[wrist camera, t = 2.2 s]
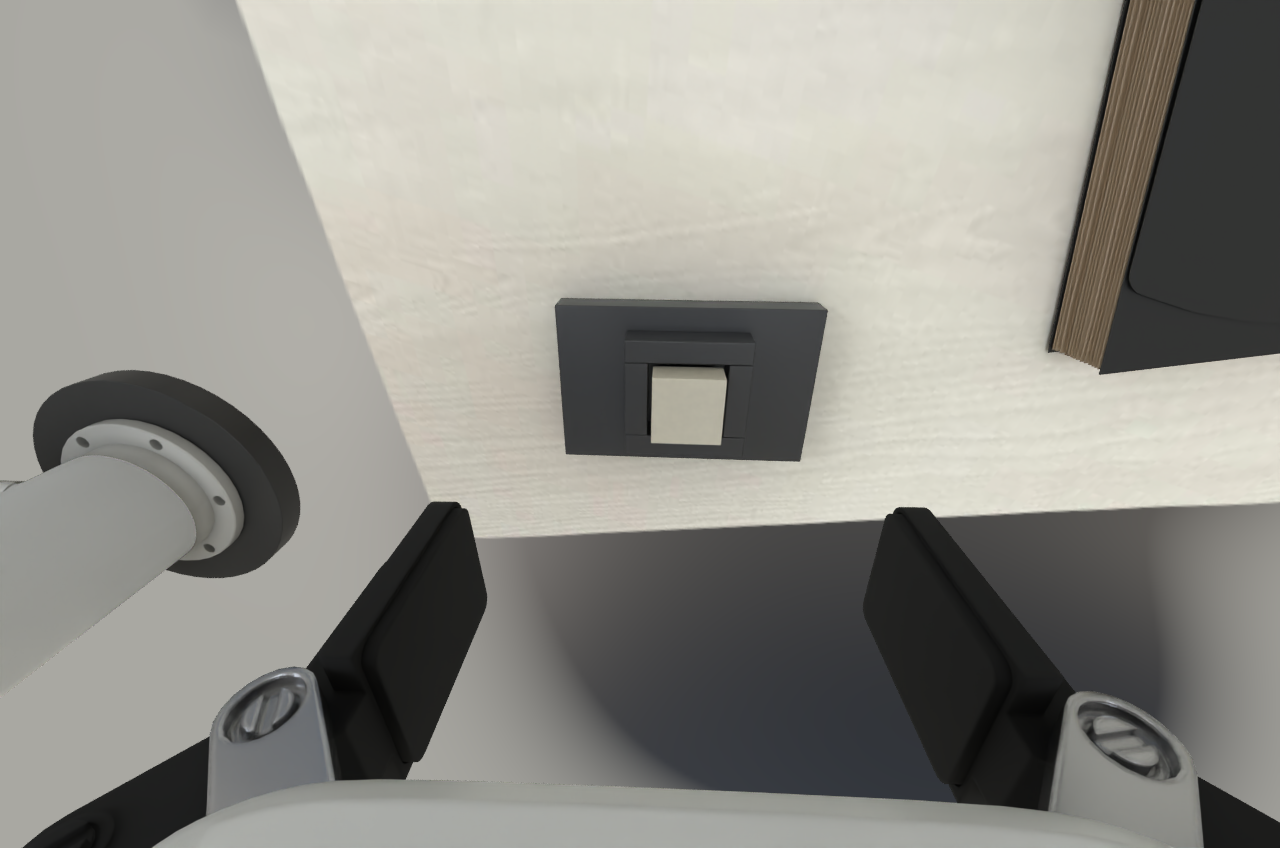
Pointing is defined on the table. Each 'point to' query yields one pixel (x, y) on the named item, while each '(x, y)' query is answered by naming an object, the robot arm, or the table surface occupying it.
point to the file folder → (1180, 193)
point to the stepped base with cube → (687, 337)
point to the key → (687, 405)
